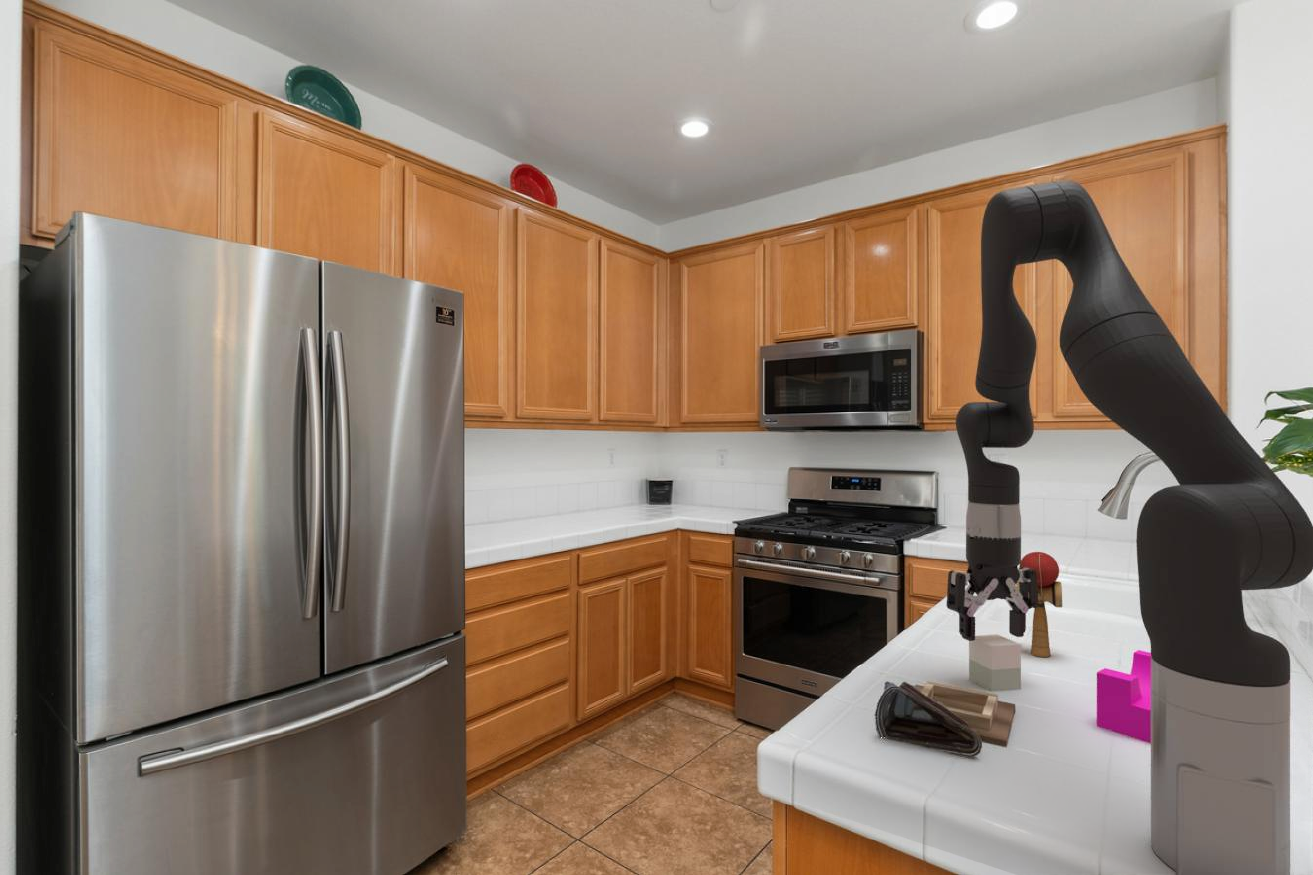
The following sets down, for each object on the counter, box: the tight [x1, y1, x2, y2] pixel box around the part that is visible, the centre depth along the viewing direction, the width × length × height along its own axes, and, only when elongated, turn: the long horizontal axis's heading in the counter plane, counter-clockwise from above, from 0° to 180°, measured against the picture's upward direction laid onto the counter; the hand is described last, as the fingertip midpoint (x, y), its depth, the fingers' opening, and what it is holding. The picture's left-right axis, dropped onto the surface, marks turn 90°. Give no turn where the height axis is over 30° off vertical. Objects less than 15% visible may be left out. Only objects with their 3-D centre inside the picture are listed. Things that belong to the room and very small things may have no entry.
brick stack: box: [968, 633, 1022, 692], centre depth 99 cm, size 5×5×7 cm
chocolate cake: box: [874, 681, 983, 758], centre depth 81 cm, size 10×7×12 cm
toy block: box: [1096, 649, 1151, 744], centre depth 87 cm, size 15×6×8 cm, turn 126°
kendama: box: [1015, 551, 1063, 658], centre depth 113 cm, size 8×6×18 cm
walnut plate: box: [914, 681, 1016, 748], centre depth 87 cm, size 13×13×3 cm
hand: (992, 637), depth 99 cm, fingers open, 8 cm apart
